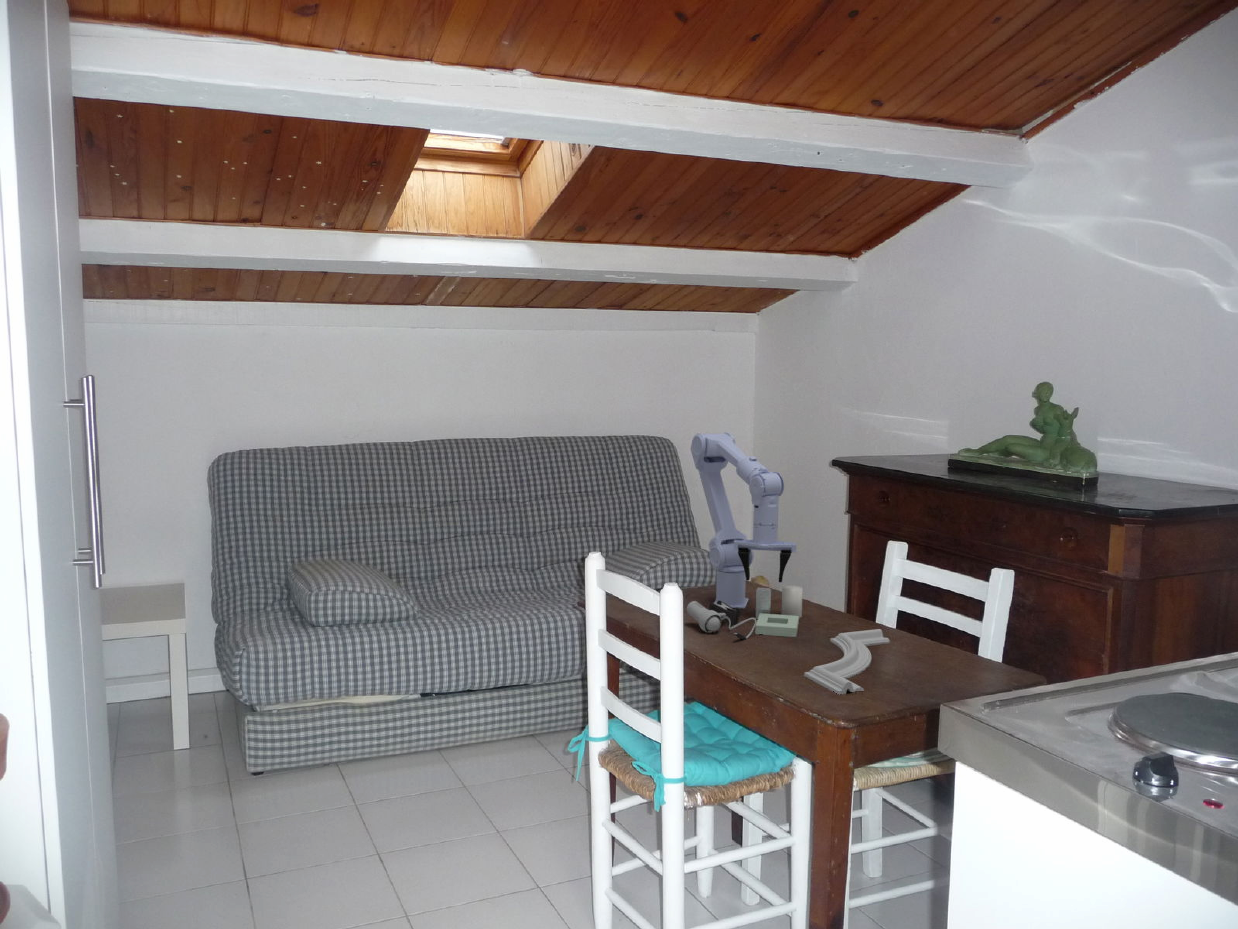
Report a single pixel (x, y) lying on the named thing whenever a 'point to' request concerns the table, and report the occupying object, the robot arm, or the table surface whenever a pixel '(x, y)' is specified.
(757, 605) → the steel square peg
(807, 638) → the table surface
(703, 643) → the table surface
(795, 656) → the table surface
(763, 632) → the socket board
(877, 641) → the molding
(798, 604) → the cream round peg
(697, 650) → the table surface
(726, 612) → the clip-on lamp
